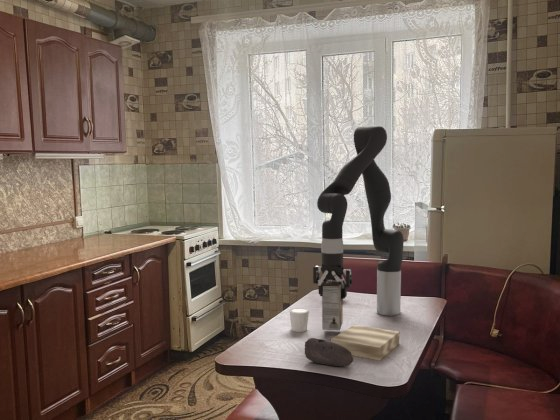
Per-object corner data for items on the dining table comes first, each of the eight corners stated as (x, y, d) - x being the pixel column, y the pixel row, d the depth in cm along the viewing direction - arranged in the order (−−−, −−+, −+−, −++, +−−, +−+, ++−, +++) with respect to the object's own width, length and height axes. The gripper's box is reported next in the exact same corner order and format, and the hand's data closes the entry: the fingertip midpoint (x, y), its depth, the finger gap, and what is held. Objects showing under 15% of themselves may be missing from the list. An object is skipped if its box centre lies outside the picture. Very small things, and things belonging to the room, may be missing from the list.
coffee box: (325, 322, 199) (325, 278, 198) (343, 323, 198) (342, 278, 197) (321, 330, 190) (321, 284, 189) (340, 331, 189) (340, 284, 188)
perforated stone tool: (356, 366, 163) (356, 343, 162) (349, 372, 158) (349, 348, 158) (311, 357, 171) (311, 335, 170) (303, 362, 166) (303, 339, 166)
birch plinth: (354, 335, 191) (354, 324, 191) (399, 343, 183) (399, 331, 182) (331, 351, 176) (331, 338, 175) (379, 360, 167) (379, 347, 167)
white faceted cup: (312, 329, 199) (312, 310, 198) (300, 333, 194) (300, 314, 193) (298, 325, 203) (298, 306, 203) (285, 329, 198) (285, 310, 198)
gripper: (355, 250, 191) (355, 297, 193) (318, 247, 199) (319, 292, 200) (346, 254, 185) (346, 302, 186) (308, 250, 192) (309, 297, 194)
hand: (332, 297), depth 193 cm, fingers closed on coffee box, 7 cm apart
